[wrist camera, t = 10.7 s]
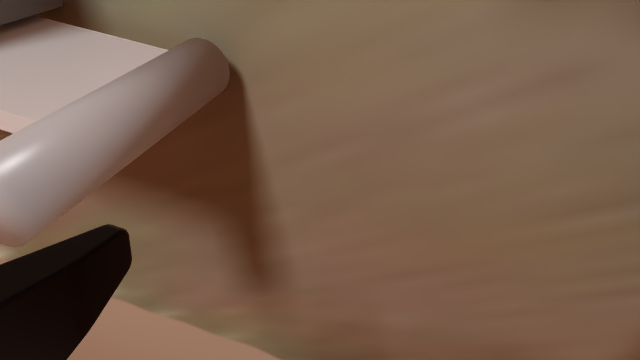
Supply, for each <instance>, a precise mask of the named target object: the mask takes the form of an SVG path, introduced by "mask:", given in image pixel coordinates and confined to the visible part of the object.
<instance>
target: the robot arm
mask: <svg viewBox="0 0 640 360" xmlns="http://www.w3.org/2000/svg"><path fill="white" fill-rule="evenodd" d="M131 262H132V255H131V247H130V240H129V234H128V232H127V231H126V230H125V229H123V228H120V227H117V226H114V225H110V224H107V225H103V226H101V227H98V228H95V229H93V230H90V231H87V232H85V233H82V234H80V235H77V236H74V237H72V238H69V239H66V240H64V241H61V242H59V243H56V244H53V245H51V246H48V247H45V248H43V249H40V250H37V251H35V252H32V253H30V254H27V255H24V256H22V257H19V258H16V259H14V260H11V261H9V262H6V263H3V264H1V265H0V360H67V358H68V357H69V356H70V355H71V353H72V352H73V351H74V350H75V348H76V347H77V346H78V344H79V343H80V342H81V341H82V339H83V338H84V337H85V336H86V334H87V333H88V332H89V330H90V328H91V327H92V326H93V324H94V323H95V321H96V320H97V318H98V317H99V315H100V313H101V312H102V310H103V309H104V307H105V306H106V304H107V302H108V301H109V300H110V298H111V297H112V295H113V293H114V292H115V290H116V289H117V287H118V286H119V284H120V283H121V281H122V279H123V278H124V276H125V275H126V273H127V272H128V270H129V268H130V266H131Z"/></svg>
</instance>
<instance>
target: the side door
mask: <svg viewBox="0 0 640 360" xmlns="http://www.w3.org/2000/svg"><path fill="white" fill-rule="evenodd" d="M229 79H230V70H229V65H228V62H227V60H226V58H225V56H224V54H223V53H222V52H221V50H220V49H219V48H218V47H217V46H215V45H214V44H213V43H211V42H209V41H207V40H205V39H201V38H193V39H189V40H187V41H185V42H183V43H181V44H180V45H178V46H176V47H174V48H172V49H170V50H166V49H162V48H158V47H154V46H151V45H147V44H143V43H139V42H135V41H131V40H127V39H123V38H120V37H116V36H112V35H108V34H104V33H100V32H96V31H93V30H89V29H85V28H81V27H77V26H73V25H69V24H65V23H62V22H58V21H54V20H50V19H46V18H42V17H38V16H35V15H32V16H29V17H26V18H23V19H19V20H16V21H13V22H10V23H7V24H3V25H0V129H1V130H4V131H7V132H10V133H13V134H12V135H10V136H8V137H6V138H4V139H2V140H1V141H0V244H3V245H6V246H11V247H19V246H23V245H25V244H26V243H28V242H29V241H30V240H32V239H33V238H34V237H35V236H37V235H38V234H39V233H41V232H42V231H43V230H44V229H46V228H47V227H48V226H50V225H51V224H52V223H53V222H55V221H56V220H57V219H59V218H60V217H61V216H62V215H64V214H65V213H66V212H68V211H69V210H70V209H72V208H73V207H74V206H75V205H77V204H78V203H79V202H81V201H82V200H83V199H84V198H86V197H87V196H88V195H90V194H91V193H92V192H93V191H95V190H96V189H97V188H99V187H100V186H101V185H102V184H104V183H105V182H106V181H108V180H109V179H110V178H111V177H113V176H114V175H115V174H117V173H118V172H119V171H121V170H122V169H123V168H124V167H126V166H127V165H128V164H130V163H131V162H132V161H133V160H135V159H136V158H137V157H139V156H140V155H141V154H142V153H144V152H145V151H146V150H148V149H149V148H150V147H151V146H153V145H154V144H155V143H157V142H158V141H159V140H161V139H162V138H163V137H164V136H166V135H167V134H168V133H170V132H171V131H172V130H173V129H175V128H176V127H177V126H179V125H180V124H181V123H182V122H184V121H185V120H186V119H188V118H189V117H190V116H191V115H193V114H194V113H195V112H197V111H198V110H199V109H200V108H202V107H203V106H204V105H206V104H207V103H208V102H210V101H211V100H212V99H213V98H215V97H216V96H217V95H219V94H220V93H221V92H222V91H223V90H224V89H225V88H226V87H227V85H228V83H229Z"/></svg>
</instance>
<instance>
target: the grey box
mask: <svg viewBox="0 0 640 360" xmlns="http://www.w3.org/2000/svg"><path fill="white" fill-rule="evenodd" d="M61 6H64V5H63V0H0V25H3V24H7V23H10V22H13V21H16V20H19V19H23V18H26V17H29V16H32V15H35V14H39V13H42V12H45V11H48V10H51V9H55V8H58V7H61Z"/></svg>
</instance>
